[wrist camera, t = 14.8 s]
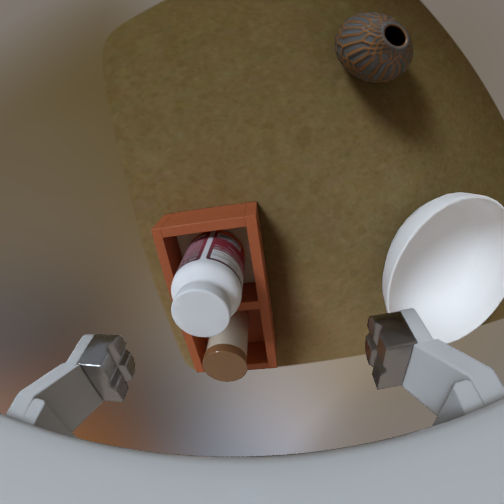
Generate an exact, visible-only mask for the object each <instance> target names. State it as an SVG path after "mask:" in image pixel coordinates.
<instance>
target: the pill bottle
mask: <svg viewBox="0 0 504 504" xmlns="http://www.w3.org/2000/svg"><path fill="white" fill-rule="evenodd" d="M244 266H245V251H244V248H243V246H242V244H241V242H240V241H239V239H238V238H237V237H236V236H235V235H233V234H232V233H230V232H228V231H226V230H216V231H209V232H201V233H199V234H198V235H197V236H195V237H194V239H193V240H192V241H191V243H190V245H189V247H188V249H187V251H186V253H185V255H184V257H183V259H182V261H181V263H180V265H179V268H178V270H177V272H176V274H175V276H174V278H173V281H172V285H171V295H172V299H173V303H172V307H171V312H172V317H173V319H174V321H175V323H176V324H177V325H178V326H179V327H180V328H181V329H182V330H183V331H185V332H186V333H188V334H190V335H193V336H197V337H212V336H215V335H218V334H220V333H221V332H223V331H224V330H225V328H226V327H227V326H228V324H229V321H230V317H231V316H232V315H233V314H234V313H235V312H236V311H237V309H238V307H239V305H240V303H241V297H242V288H243V277H244Z"/></svg>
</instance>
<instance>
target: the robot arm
mask: <svg viewBox="0 0 504 504" xmlns="http://www.w3.org/2000/svg"><path fill="white" fill-rule="evenodd" d="M367 327H368V329H369V332H370V333H369V334H368V335H367V336H366V342H365V349H366V356H367V360H368V363H369V365H371V366H372V367H373V373H372V375H373V378H374V381H375V384H376V387H377V389H384V388H388V387H394V386H399V385H402V387H403V388H405V389H406V390H407V391H408V392H409V393H411V394H412V395H413V396H414V397H415V398H417V399H418V400H419V401H420V402H422V403H423V404H424V405H425V406H426V407H427V408H429V409H430V410H431V411H432V412H433V413H434V414H436V415H437V416H438V417H437V419H436V420H435V422H434V424H433V425H432V427H429V428H425V429H422V430H419V431H415V432H412V433H408V434H404V435H400V436H397V437H392V438H388V439H384V440H380V441H375V442H370V443H366V444H361V445H355V446H350V447H344V448H338V449H332V450H324V451H317V452H308V453H298V454H287V455H272V456H249V457H248V456H247V457H217V456H193V455H179V454H167V453H158V452H149V451H142V450H135V449H129V448H122V447H116V446H111V445H106V444H101V443H96V442H92V441H87V440H83V439H79V438H77V437H76V436H75V435H74V434H73V433H72V432H73V431H74V430H75V429H76V428H77V427H78V426H79V425H80V424H81V423H82V422H83V421H84V420H85V419H86V418H87V417H88V416H89V415H90V414H91V413H92V412H93V411H94V410H95V409H96V408H97V407H98V406H99V405H100V404H101V403H102V402H103V400H106V401H118V402H123V401H124V398H125V396H126V393H127V391H128V385H127V382H128V381H130V380H131V379H132V378H133V375H134V372H135V362H134V358H133V356H132V354H131V353H130V352H129V351H128V350H126V349H125V347H126V342H125V340H124V338H123V337H122V336H120V335H101V334H97V335H95V334H94V335H93V334H86V335H83V336H82V338H81V340H80V341H79V343H78V344H77V346H76V347H75V349H74V350H73V352H72V354H71V355H70V357H69V358H68V360H67V362H66V363H62V364H61V365H59V366H58V367H56V368H54V369H53V370H51V371H50V372H49V373H47V374H45V375H44V376H42V377H41V378H40V379H38V380H37V381H35V382H34V383H32V384H31V385H29V386H28V387H26V388H25V389H23V390H22V391H20V392H19V393H18V395H17V396H16V398H15V399H14V401H13V403H12V405H11V406H10V408H9V410H8V411H7V413H6V415H3V414H1V413H0V504H504V386H503V384H502V383H501V381H500V380H499V378H498V376H497V375H496V373H495V371H494V370H493V368H491V367H489V366H487V365H485V364H483V363H482V362H480V361H478V360H476V359H474V358H472V357H470V356H469V355H467V354H465V353H463V352H461V351H459V350H457V349H455V348H453V347H452V346H450V345H448V344H446V343H444V342H442V341H440V340H439V339H435V340H433V338H432V336H431V335H430V333H429V331H428V330H427V328H426V327H425V325H424V323H423V322H422V320H421V318H420V317H419V315H418V314H417V312H416V311H415V309H413V308H410V309H405V310H400V311H396V312H391V313H385V314H379V315H373V316H369V319H368V324H367Z"/></svg>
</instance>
